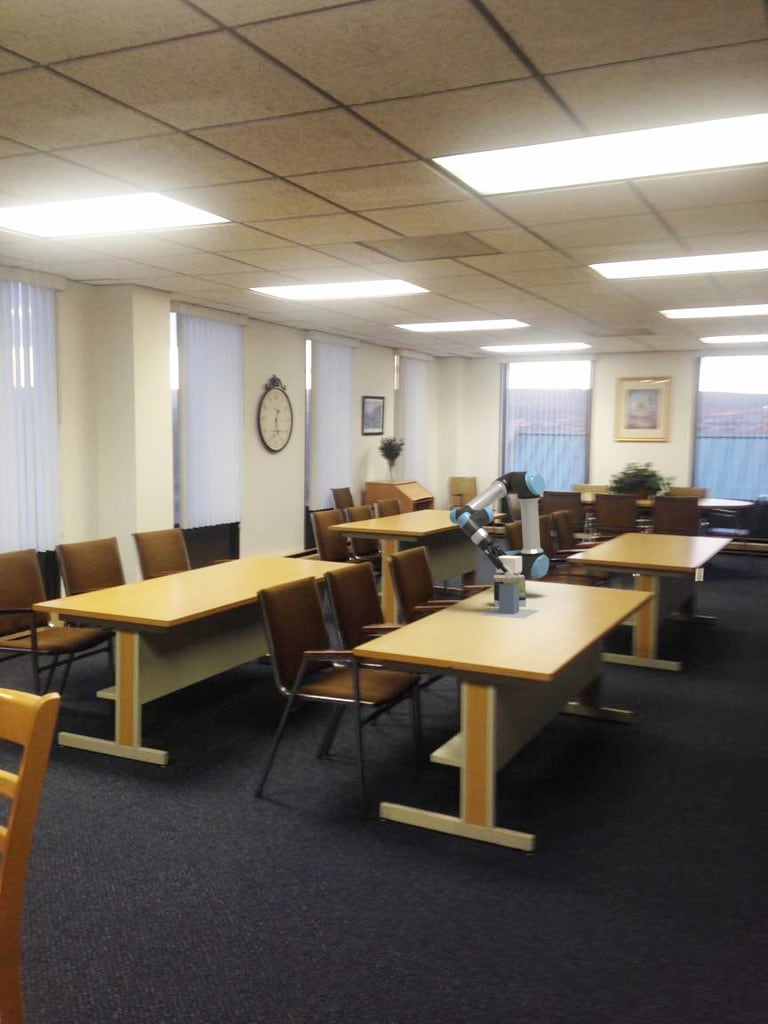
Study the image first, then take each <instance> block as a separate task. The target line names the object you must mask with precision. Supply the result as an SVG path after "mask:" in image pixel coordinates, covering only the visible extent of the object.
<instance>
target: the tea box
mask: <svg viewBox="0 0 768 1024" xmlns="http://www.w3.org/2000/svg"><path fill="white" fill-rule="evenodd" d="M504 583H510V584H519V608H527V607H526V606H527V604H526V603H527V601H526V599H527V598H526V597H527V590H526V591H525V589H526V576H524V575H518V576H516V575H514V576H513V577H512V578H511V579H509V578H508V577H507V576H506V575H500V574H499V575H498V574H497V575H495V574H494V575H493V604H494V608H495V607H499V585H501V584H504Z"/></svg>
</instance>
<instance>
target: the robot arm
mask: <svg viewBox="0 0 768 1024" xmlns="http://www.w3.org/2000/svg"><path fill="white" fill-rule="evenodd" d="M545 488H546V483H545V479H544V477H543V475H542V474H540V472H538V471H509V472H507V473H505V474H503V475H501V476H499V477H498V478H496V479H494V481H492V482H491V484H490V486H489V487H487V488H486V489H484V490H483V491H482V492H481V493H479V494H478V495H477V496H475V497H474V498H473V499H471V500H469V501H468V502H466V504H465V505H463V506H461V507H460V508H453V509H452V510H451V511H450V513H449V521H450V522H451V523H452V524H454V525H458V526H459V527H460V529H461V530H462V531H463V532H464V533H465V534H466V535H467V536H468V537H469V538H470V540H472V543H474V544H475V545H477V548H478V549H479V550H481V552H484V554H485V555H486V556H487V558H488V559H489V560H490V562H491V563H492V564H493V566H495V569H496V568H497V569H498V570H499V569H501V570H502V572H503V573H499V575H506V576H507V577H508V578H509V579H511V578H512V577H513V576H514V575H516V576H518V575H524V577H525V578H526V577H528V578H535V579H536V578H542V577H544V576H545V575H546V574H547V572H548V570H549V566H550V560H549V557H548V556H547V555H546V554H545V553H544V551H545V550H544V549H543V548H542V547H541V536H540V518H539V517H540V516H539V502H538V501H539V500H540V499H541V495H542V494H543V493H544V492H545ZM508 495H516V497H517V500H518V501H519V502H520V511H521V512H520V514H521V515H520V516H521V529H522V530H521V531H522V545H523V546H522V549H521V550H519V549H518V550H508V551H504V550H503V549H502V548H501V547H500V546H499V545H497V546H496V545H495V544H494V543H495V540H494V538H493V537H492V536H491V535H489V532H488V531H487V530H486V529H485V528H484V526H486V525H489V524H490V523H492V522H493V521H494V519H495V514H494V511H493V510H492V509H491V508H490V506H491V505H492V504H494V502H496V501H498V500H499V499H501V498H505V497H506V496H508ZM500 556H522V571H520V572H518V573H512V572H511V571H510V570H509V569H508V568H507V567H506V566H505V565H503V563H502V562H501V561H500V560H499V558H498V557H500ZM525 591H526V592H527V589H526V588H525Z"/></svg>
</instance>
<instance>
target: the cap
mask: <svg viewBox="0 0 768 1024" xmlns="http://www.w3.org/2000/svg"><path fill="white" fill-rule="evenodd" d="M498 558H499V560H500V561H501V562H502V563H503V565H505V566H506V567H507V568H508V569H509V570H510V571H511V572H512V573H518V572H520V571H522V556H500V557H498ZM495 573H499V574H500V573H503V572H502V570H501V569H499V570H498V569H497V568H496V567H495Z"/></svg>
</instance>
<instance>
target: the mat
mask: <svg viewBox="0 0 768 1024" xmlns="http://www.w3.org/2000/svg"><path fill="white" fill-rule="evenodd" d="M540 611H541V610H540V609H539V610H537V609H529V608H528V609H526V608H525V609H524V608H519V612H518V613H516V614H502V613H499V607H495V606H494V607H492V608H491V609H488V610H486V611H483V612H481V613H479V614H478V616H485V617H486V616H487V617H499V618H511V619H526V618H528V617H530V616H533V615H534V614H537V613H538V612H540Z"/></svg>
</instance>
